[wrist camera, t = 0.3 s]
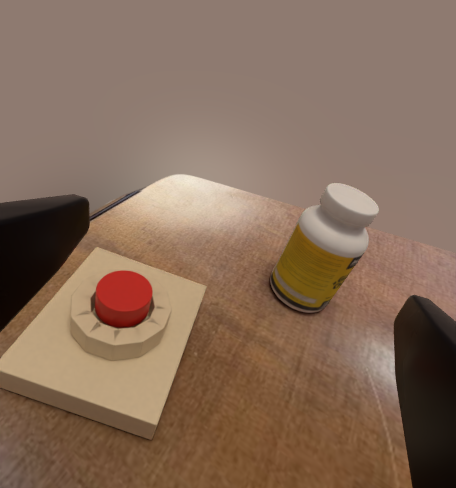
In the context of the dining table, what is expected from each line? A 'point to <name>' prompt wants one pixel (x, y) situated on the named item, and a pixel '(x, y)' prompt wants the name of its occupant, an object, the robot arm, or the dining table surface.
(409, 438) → the robot arm
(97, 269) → the button box
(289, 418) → the dining table surface
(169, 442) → the dining table surface
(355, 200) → the pill bottle
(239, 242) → the dining table surface
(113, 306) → the button
